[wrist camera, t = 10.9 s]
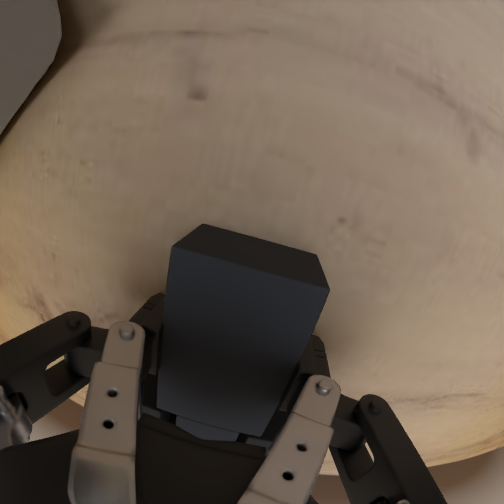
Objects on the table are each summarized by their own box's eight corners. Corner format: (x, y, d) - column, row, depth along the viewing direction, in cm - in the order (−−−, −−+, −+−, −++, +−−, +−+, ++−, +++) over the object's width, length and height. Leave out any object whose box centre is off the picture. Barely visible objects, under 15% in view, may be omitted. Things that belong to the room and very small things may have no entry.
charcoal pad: (202, 222, 11) (171, 245, 8) (317, 254, 11) (331, 289, 8) (174, 392, 15) (155, 434, 11) (254, 414, 15) (247, 460, 11)
